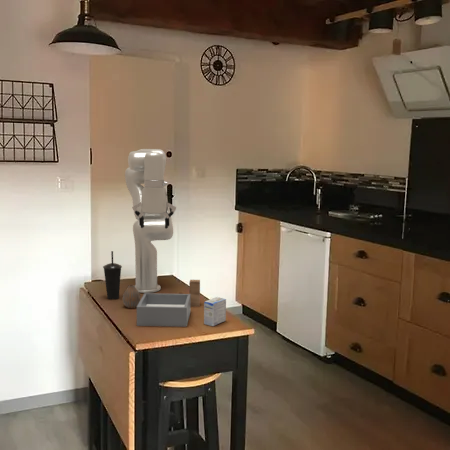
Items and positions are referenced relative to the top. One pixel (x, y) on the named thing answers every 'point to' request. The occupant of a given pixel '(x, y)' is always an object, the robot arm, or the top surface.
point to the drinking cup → (112, 279)
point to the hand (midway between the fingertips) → (154, 227)
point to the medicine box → (214, 311)
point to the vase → (131, 297)
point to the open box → (164, 310)
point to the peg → (194, 292)
